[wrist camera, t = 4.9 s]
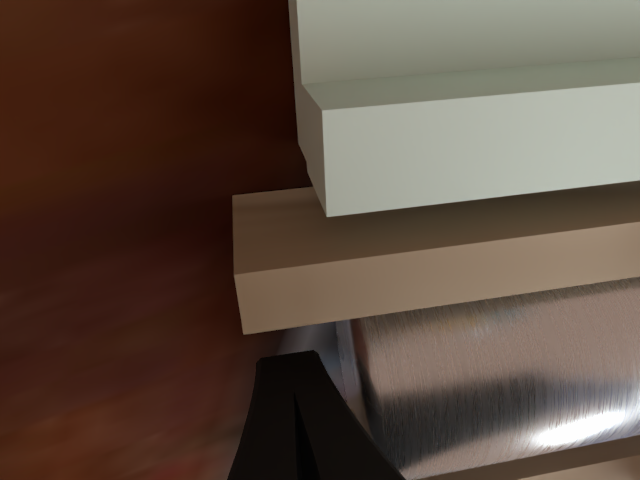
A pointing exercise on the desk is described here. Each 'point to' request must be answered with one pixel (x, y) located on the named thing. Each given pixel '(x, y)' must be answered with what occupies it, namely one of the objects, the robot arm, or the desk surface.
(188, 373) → the desk surface
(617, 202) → the wooden bracket frame
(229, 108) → the desk surface
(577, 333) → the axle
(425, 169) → the cradle
